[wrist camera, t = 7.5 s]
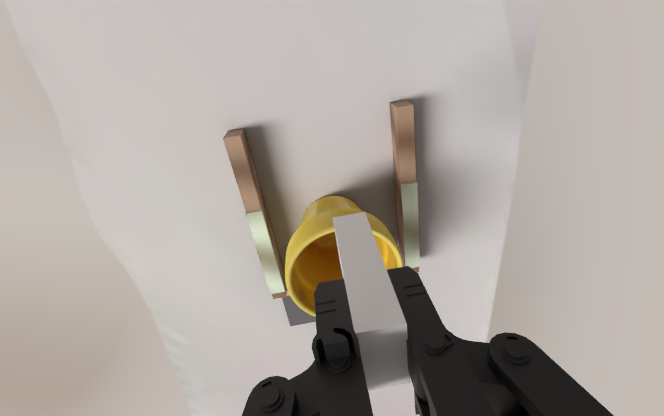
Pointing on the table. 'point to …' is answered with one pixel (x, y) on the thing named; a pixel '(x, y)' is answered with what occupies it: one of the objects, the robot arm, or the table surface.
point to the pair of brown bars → (403, 185)
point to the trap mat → (296, 312)
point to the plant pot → (327, 249)
